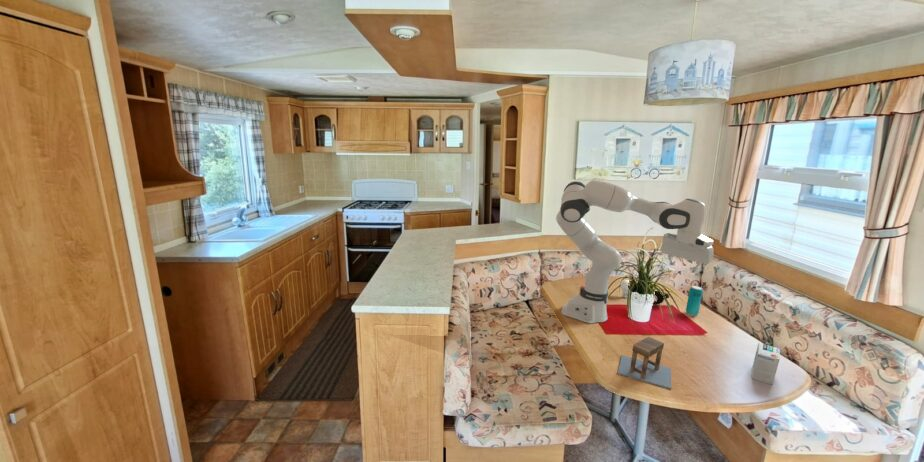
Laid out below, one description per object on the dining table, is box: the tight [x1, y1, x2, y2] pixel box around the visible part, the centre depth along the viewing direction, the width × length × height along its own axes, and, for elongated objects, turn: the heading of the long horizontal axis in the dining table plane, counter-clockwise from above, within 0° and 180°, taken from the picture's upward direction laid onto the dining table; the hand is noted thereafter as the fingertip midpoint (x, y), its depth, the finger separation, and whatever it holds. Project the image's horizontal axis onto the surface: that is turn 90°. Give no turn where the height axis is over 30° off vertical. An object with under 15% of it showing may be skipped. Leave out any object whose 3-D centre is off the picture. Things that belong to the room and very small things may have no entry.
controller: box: [653, 291, 670, 305], centre depth 206 cm, size 4×12×10 cm, turn 26°
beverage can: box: [685, 285, 704, 317], centre depth 194 cm, size 6×6×15 cm
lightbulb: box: [619, 279, 630, 299], centre depth 213 cm, size 6×6×11 cm
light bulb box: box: [751, 342, 781, 386], centre depth 144 cm, size 11×7×11 cm, turn 140°
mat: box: [617, 355, 672, 390], centre depth 145 cm, size 18×14×1 cm
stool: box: [630, 336, 665, 379], centre depth 144 cm, size 12×6×11 cm
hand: (682, 268), depth 162 cm, fingers open, 8 cm apart
